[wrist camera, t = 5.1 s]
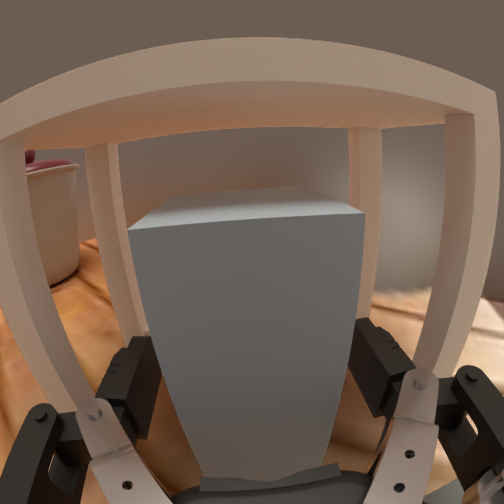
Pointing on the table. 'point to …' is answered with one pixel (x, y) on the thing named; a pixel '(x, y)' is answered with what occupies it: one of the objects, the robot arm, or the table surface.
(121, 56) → the rack
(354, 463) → the table surface
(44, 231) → the canister
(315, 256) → the blank
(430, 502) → the mat
